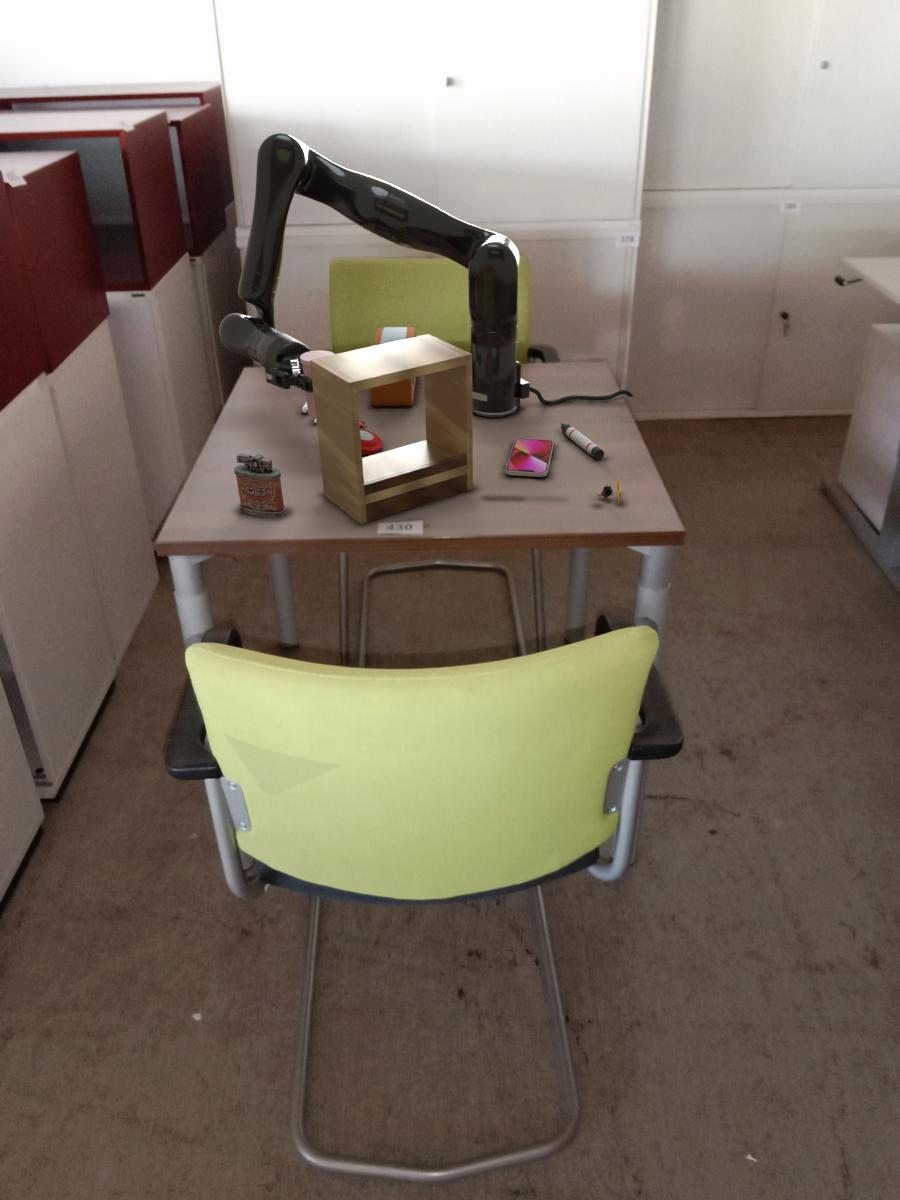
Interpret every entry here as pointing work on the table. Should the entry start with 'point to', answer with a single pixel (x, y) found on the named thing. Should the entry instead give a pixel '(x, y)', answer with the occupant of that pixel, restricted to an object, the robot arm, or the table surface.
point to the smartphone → (530, 457)
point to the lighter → (259, 486)
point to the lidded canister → (305, 361)
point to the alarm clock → (396, 391)
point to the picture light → (304, 410)
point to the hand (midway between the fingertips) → (326, 383)
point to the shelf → (408, 469)
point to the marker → (582, 441)
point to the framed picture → (610, 491)
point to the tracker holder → (369, 441)
